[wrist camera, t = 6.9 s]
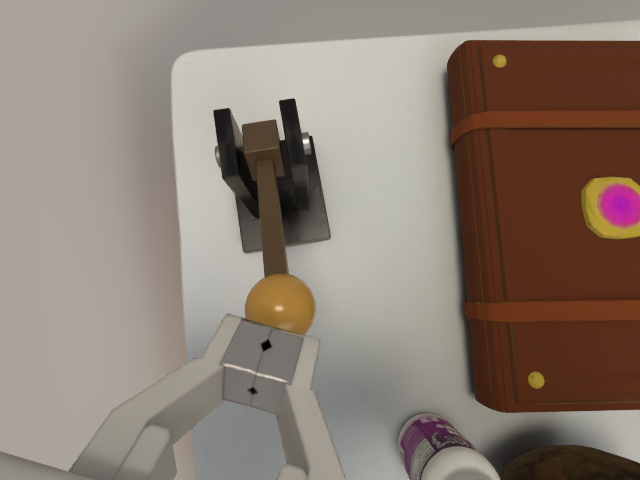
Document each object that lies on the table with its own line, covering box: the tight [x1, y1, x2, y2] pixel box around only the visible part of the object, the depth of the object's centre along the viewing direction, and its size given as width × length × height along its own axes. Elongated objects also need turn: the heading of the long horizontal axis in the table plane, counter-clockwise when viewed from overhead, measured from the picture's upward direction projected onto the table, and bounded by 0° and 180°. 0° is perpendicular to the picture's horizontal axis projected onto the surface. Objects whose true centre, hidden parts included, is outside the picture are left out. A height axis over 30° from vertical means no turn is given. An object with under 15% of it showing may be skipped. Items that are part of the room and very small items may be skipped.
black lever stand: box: [213, 98, 331, 253], centre depth 25 cm, size 10×8×12 cm
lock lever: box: [242, 120, 315, 335], centre depth 18 cm, size 14×3×3 cm, turn 10°
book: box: [447, 40, 640, 413], centre depth 28 cm, size 23×32×5 cm
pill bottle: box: [398, 413, 500, 480], centre depth 23 cm, size 5×5×10 cm
